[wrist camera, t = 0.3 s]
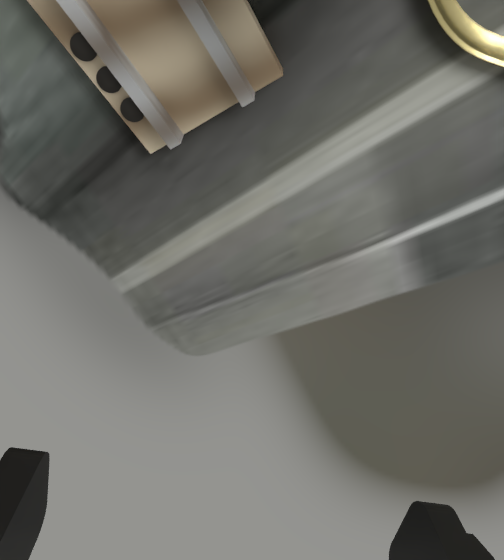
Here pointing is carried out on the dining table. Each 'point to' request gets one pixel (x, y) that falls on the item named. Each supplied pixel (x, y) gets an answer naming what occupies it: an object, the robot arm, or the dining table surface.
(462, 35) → the gold oval ring
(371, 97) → the dining table surface
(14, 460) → the robot arm
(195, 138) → the dining table surface
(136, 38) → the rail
